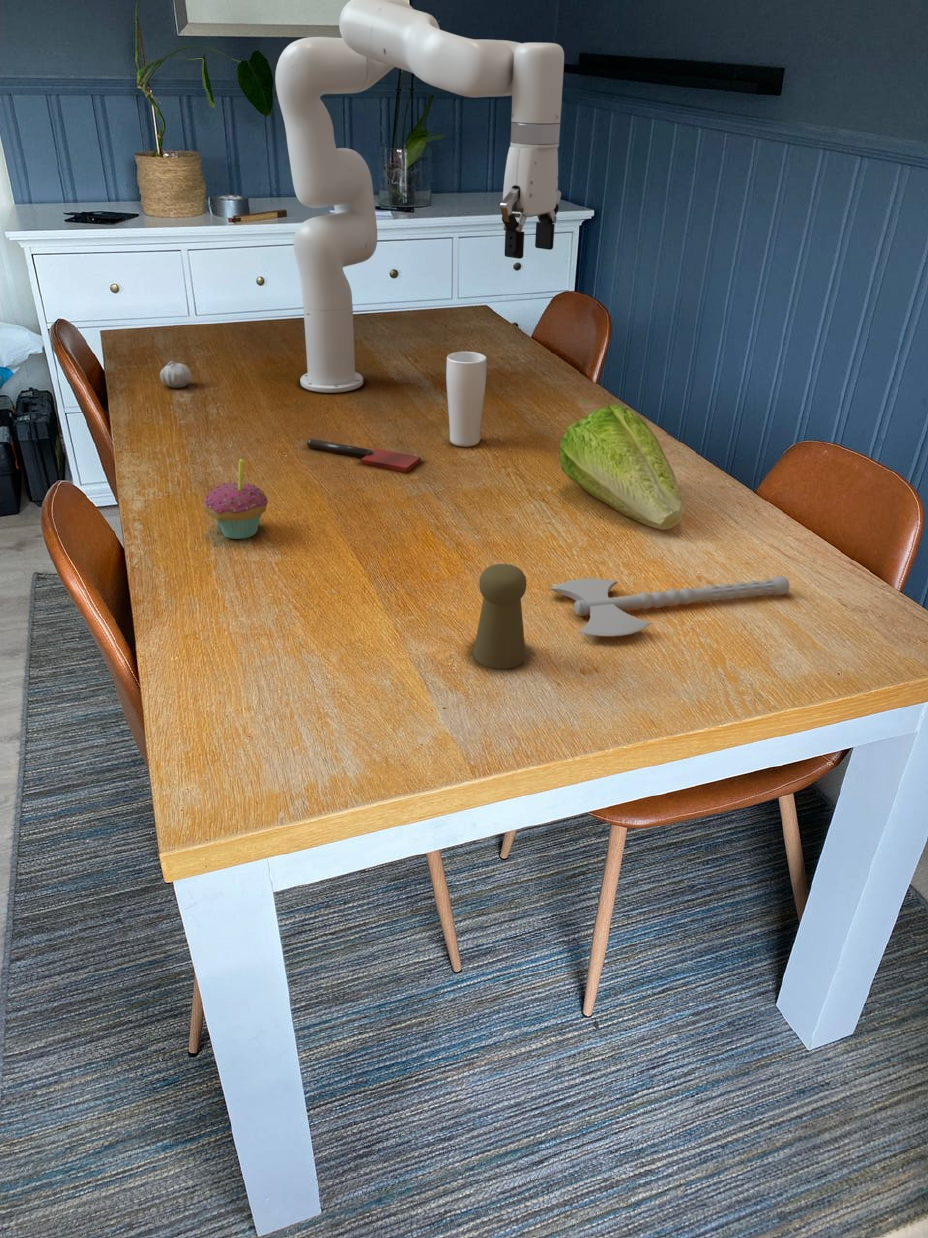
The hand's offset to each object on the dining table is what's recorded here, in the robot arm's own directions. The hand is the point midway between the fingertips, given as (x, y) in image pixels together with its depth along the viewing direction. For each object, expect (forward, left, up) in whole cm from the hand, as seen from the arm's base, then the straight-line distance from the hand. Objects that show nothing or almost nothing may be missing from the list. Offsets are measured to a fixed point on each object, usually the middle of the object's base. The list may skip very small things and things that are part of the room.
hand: (529, 252), depth 156 cm
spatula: (+6, -30, -31) cm, 43 cm away
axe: (+63, -1, -31) cm, 70 cm away
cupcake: (+29, -52, -31) cm, 67 cm away
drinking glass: (+3, -11, -31) cm, 33 cm away
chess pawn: (+68, -26, -31) cm, 79 cm away
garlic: (-40, -58, -31) cm, 77 cm away
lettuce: (+34, +5, -31) cm, 46 cm away
